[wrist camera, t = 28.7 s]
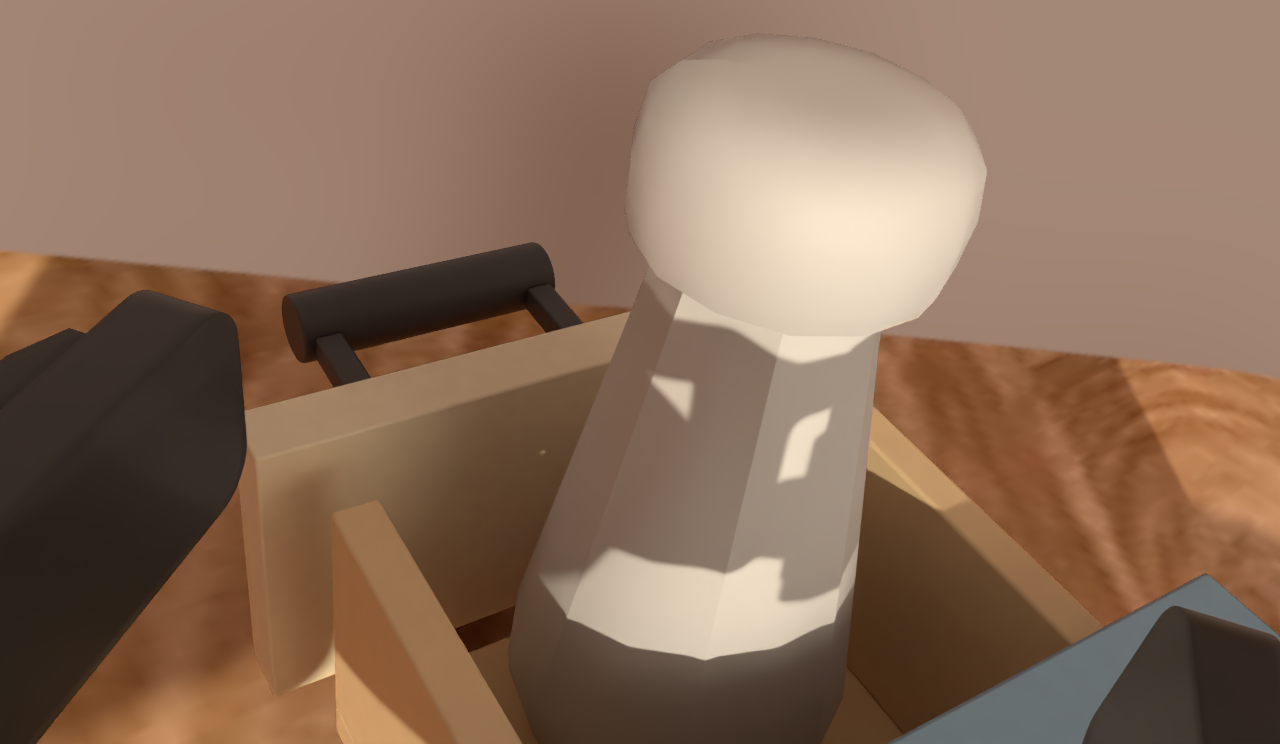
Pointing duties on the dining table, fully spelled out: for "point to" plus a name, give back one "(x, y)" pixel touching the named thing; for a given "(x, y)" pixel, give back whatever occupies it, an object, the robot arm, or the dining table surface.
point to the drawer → (518, 509)
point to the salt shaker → (741, 397)
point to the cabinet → (1071, 678)
